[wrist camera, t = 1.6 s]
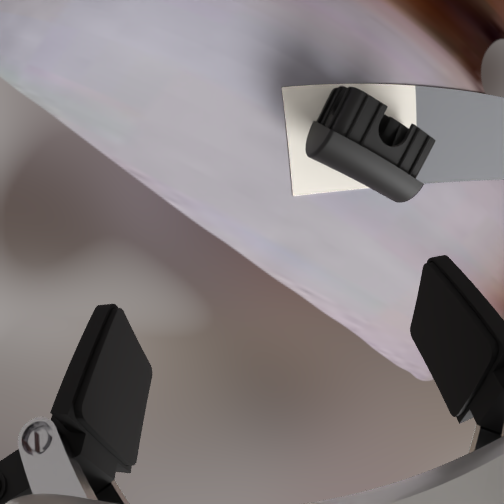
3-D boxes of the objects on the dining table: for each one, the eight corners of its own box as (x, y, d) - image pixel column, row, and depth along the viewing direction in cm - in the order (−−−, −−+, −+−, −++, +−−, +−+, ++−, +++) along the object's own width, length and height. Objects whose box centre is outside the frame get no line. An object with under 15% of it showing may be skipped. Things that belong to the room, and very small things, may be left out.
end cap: (297, 147, 29) (313, 164, 23) (329, 83, 26) (354, 84, 20) (379, 188, 32) (408, 213, 26) (409, 131, 28) (445, 146, 23)
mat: (414, 85, 26) (415, 85, 26) (511, 99, 26) (512, 99, 26) (414, 184, 32) (414, 184, 31) (506, 179, 31) (506, 179, 31)
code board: (281, 87, 26) (281, 87, 26) (414, 85, 26) (415, 85, 26) (292, 195, 32) (293, 196, 32) (414, 184, 32) (415, 184, 31)
